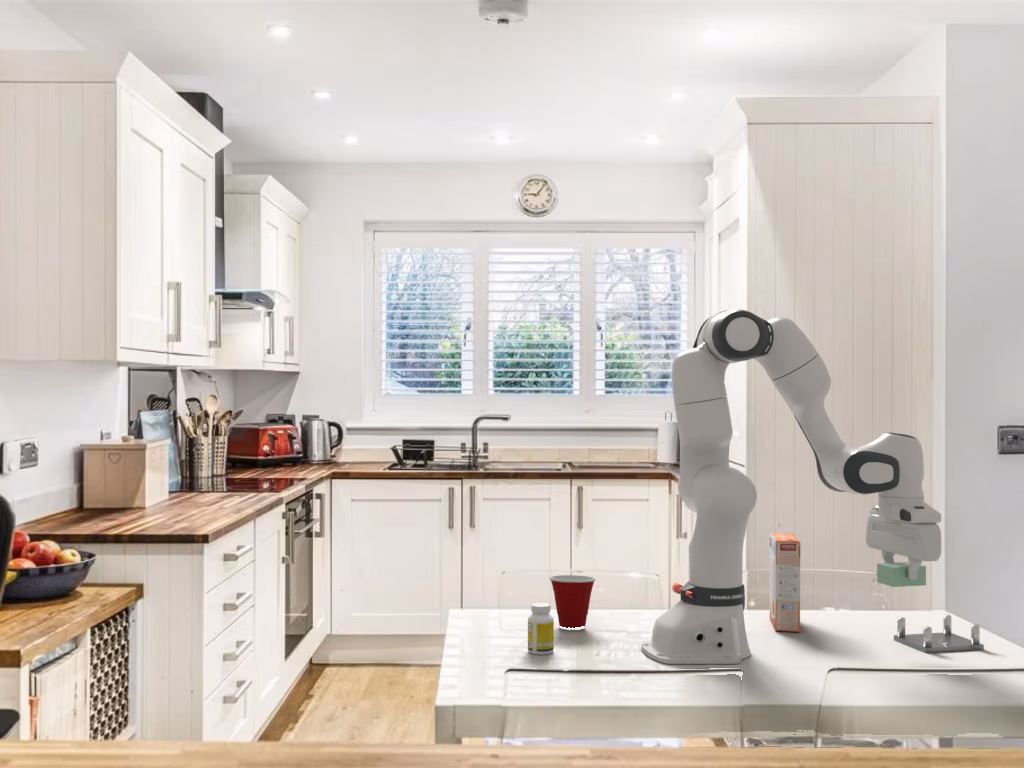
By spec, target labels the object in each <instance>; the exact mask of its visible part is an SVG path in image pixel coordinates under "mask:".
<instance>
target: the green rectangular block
mask: <svg viewBox="0 0 1024 768" xmlns="http://www.w3.org/2000/svg"><path fill="white" fill-rule="evenodd" d="M909 565H910V563H909V562H908V561H901V562H897V561H896V562H895V563H885V562H879V563H878V562H877V563H876V567H877V568H876V576H877V577H876V579H877V581H876V583H878V584H882V585H885V586H888V587H893V588H899V587H900V588H901V587H918V586H922V587H923V586H926V585H927V565H924V564H921V565H920V567H919V569H918V571H917V579H913V580H911V579H908V578H906V576H905V575H906V573H905V570H908V568H909Z"/></svg>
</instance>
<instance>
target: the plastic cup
mask: <svg viewBox="0 0 1024 768" xmlns="http://www.w3.org/2000/svg"><path fill="white" fill-rule="evenodd" d="M548 579H549V580H550V582H551V587H552V590H553V594H554V595H553V596H554V601H555V607H556V614H557V619H558V620H557V621H558V625H559V627H560V626H562V627H566V628H568V627H570V628H572V627H573V628H575V627H581V626H585V627H586V625H585V624H587V617H588V614H589V608H590V602H591V596H592V591H593V587H594V585H595V584H594V583H595V581H596V579H597V578H596V577H593V576H589V575H576V574H575V575H574V574H570V575H569V574H566V575H565V574H563V575H551V576H549V577H548Z"/></svg>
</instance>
